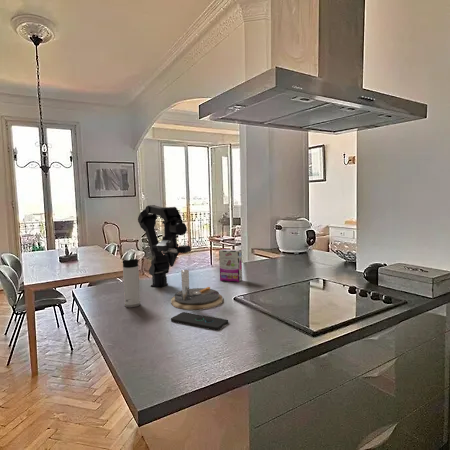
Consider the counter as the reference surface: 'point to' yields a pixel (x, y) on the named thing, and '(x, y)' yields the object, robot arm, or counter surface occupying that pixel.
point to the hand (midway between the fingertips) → (171, 266)
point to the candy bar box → (230, 265)
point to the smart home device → (199, 321)
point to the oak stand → (196, 307)
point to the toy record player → (194, 293)
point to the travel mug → (131, 283)
